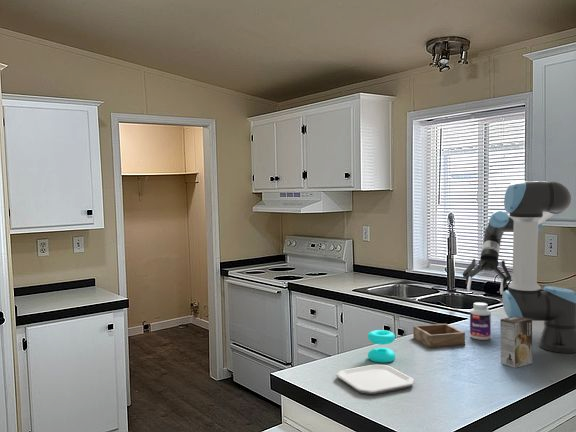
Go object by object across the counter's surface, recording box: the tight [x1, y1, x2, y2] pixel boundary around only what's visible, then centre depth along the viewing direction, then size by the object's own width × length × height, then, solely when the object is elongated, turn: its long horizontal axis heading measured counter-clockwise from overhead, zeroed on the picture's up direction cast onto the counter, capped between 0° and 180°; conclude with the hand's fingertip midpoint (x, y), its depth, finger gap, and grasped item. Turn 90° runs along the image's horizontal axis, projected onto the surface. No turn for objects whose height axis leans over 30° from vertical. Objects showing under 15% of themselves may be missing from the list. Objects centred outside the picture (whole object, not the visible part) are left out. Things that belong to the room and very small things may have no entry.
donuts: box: [367, 329, 396, 364], centre depth 193 cm, size 10×10×10 cm
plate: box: [335, 363, 415, 395], centre depth 170 cm, size 21×21×2 cm
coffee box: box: [500, 316, 533, 369], centre depth 185 cm, size 9×6×16 cm
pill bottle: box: [469, 301, 492, 341], centre depth 218 cm, size 8×8×14 cm
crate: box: [412, 323, 466, 349], centre depth 214 cm, size 15×15×5 cm
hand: (484, 291), depth 227 cm, fingers open, 13 cm apart
